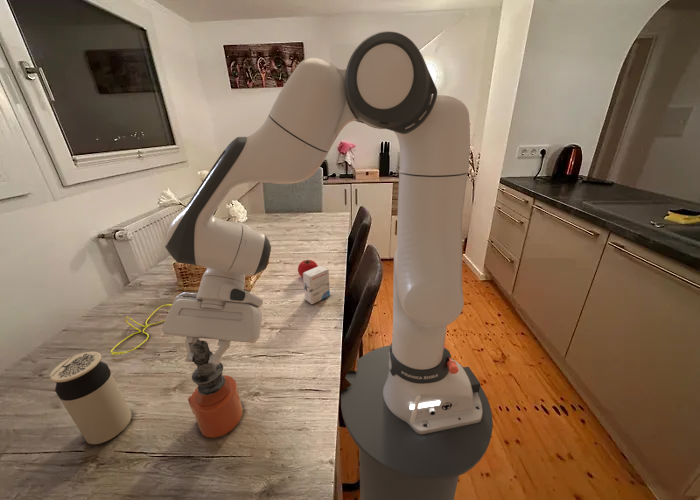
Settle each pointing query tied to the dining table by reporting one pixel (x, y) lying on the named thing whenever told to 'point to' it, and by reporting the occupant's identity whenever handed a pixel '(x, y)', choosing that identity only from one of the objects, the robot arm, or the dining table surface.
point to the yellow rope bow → (137, 332)
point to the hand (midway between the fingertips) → (202, 363)
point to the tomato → (306, 266)
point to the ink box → (316, 284)
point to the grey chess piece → (206, 370)
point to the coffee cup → (217, 409)
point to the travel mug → (91, 397)
